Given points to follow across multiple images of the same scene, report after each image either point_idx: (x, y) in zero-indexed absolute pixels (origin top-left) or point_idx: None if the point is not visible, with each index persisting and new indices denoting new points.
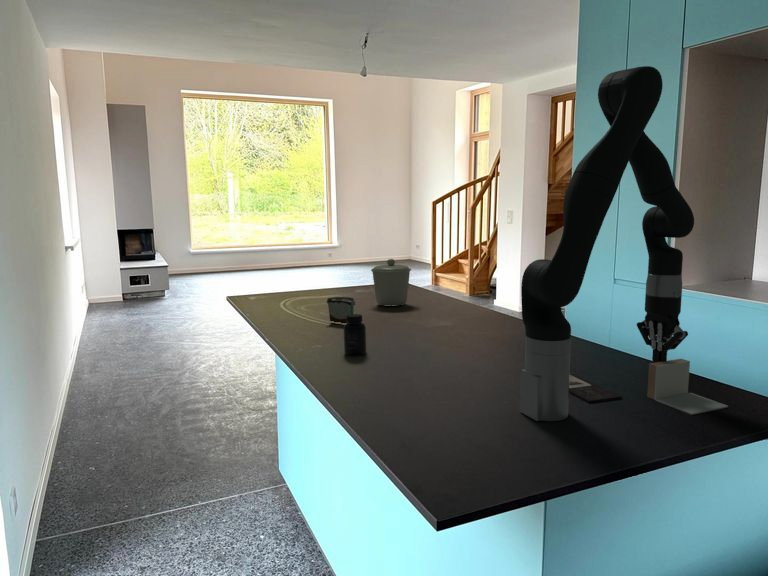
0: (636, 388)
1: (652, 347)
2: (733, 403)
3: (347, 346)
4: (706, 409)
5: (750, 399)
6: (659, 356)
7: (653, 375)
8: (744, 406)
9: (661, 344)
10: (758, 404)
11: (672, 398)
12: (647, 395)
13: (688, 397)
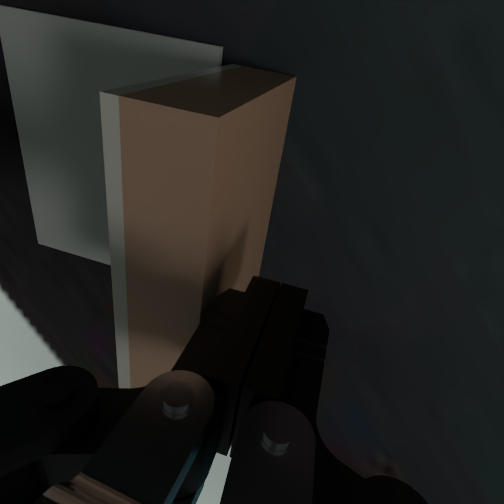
0: (427, 171)
1: (288, 422)
2: (68, 292)
3: None
4: (24, 131)
5: (81, 360)
6: (226, 337)
7: (197, 85)
8: (37, 288)
9: (112, 453)
10: (41, 332)
11: None
12: (293, 78)
13: None
